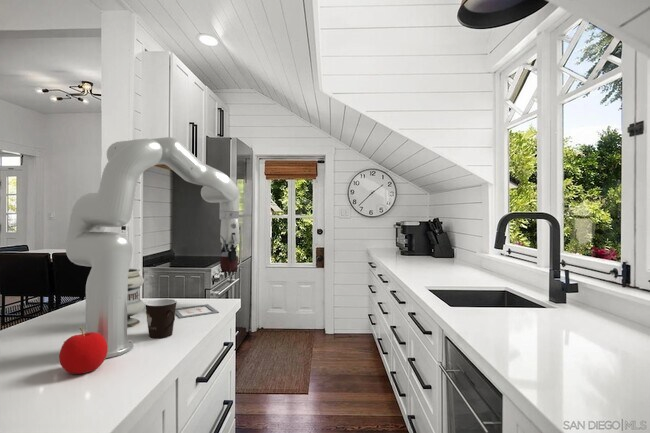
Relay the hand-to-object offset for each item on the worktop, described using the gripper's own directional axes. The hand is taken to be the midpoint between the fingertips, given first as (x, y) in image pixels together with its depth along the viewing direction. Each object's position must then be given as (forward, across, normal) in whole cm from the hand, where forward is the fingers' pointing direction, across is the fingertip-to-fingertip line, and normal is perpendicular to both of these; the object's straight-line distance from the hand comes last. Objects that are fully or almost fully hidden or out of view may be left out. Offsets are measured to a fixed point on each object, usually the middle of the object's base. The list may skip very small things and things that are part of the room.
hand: (228, 259), depth 141 cm
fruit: (+19, -39, +48) cm, 65 cm away
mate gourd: (+5, 0, 0) cm, 5 cm away
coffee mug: (+19, -24, +29) cm, 42 cm away
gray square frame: (+19, 0, +13) cm, 23 cm away
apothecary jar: (+19, -4, +37) cm, 42 cm away
